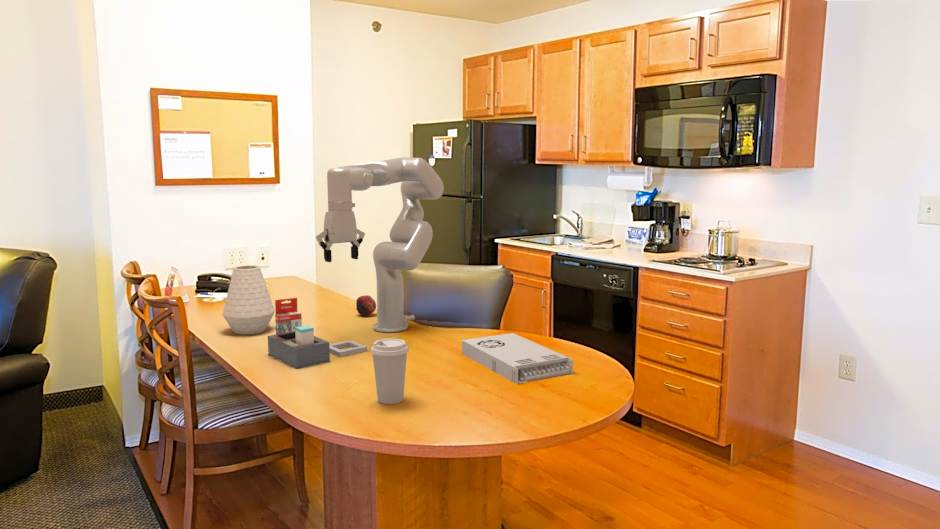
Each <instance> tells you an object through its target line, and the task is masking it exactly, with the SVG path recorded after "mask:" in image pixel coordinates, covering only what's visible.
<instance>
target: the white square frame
mask: <svg viewBox="0 0 940 529" xmlns="http://www.w3.org/2000/svg"><path fill="white" fill-rule="evenodd" d="M329 347H330V355H335V356H337V357H338V358H342V357H347V356H351V355H354V354H356V355H357V354H361V353H364V352H368V346H367V345H364V344H363V343H362V344H361V343H360V342H356V341H354V340H352V339H351V340H350V339H349V340H346V341H339V342H335V343H329ZM349 347H350V348H349ZM344 348H346V349H344Z"/></svg>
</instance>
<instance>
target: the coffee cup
mask: <svg viewBox="0 0 940 529" xmlns="http://www.w3.org/2000/svg"><path fill="white" fill-rule="evenodd" d="M372 344H373V345H372V346H371V348H370V353H371V354H372V360H373V369H374V377H375V387H376V396H377V398H376V399H377V402H378V403H380V404H383V405H395V404H396V405H397V404H400V403H402V402H403V401H404V394H405V383H406V382H405V381H406V368H407V355H408V353H409V350H410V349H409V347H408V345H407V342H406V341H405V340H404V339H401V338H381V339H378V340H376V341H374V342H373V343H372Z"/></svg>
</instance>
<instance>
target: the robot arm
mask: <svg viewBox="0 0 940 529" xmlns="http://www.w3.org/2000/svg"><path fill="white" fill-rule="evenodd" d="M326 180H327V182H326V183H327V211H325V212H324V214H325V215H324V220H323V231H322V232H320V233H319V234H317V235H316V236H315V240H316V241H317V243H318V245H319V246H320V247H321V249H323V259H324V261H325V262H326V263H332V261H333V260H332V249H331V248H332V246H333V245H334V244H342V243H343V244H344V243H350V244H351V245H352V246H351V247H350V258H351V259H353V260H359V247H360V245H361V244H362V243H363V242H364V237H365V235H366V233H365V232H364V231H362V230H360V229H358V228H357V220H356V215H355V212H354V210H353V208H355V207H356V204H355V203H354V202H353V199H352V198H353V194H352V193H353V191H355V192H356V191H357V192H359V191H362V192H363V191H367V190H369V188H371V187H383V186H389V185H393V184H397V183H400V192H401V193H400V194H401V200H402V208H401V211H400V213H399V214H398V216H397V218H396V220H395V221H394V223H393V225H392V227H391V228H390V231H389V238H390V241H382V242H379V243H377V244H376V246H375V247H374V248H373V252H372V258H373V263H374V267H375V274H376V278H375V279H376V310H377V311H376V317H377V322H376V323H375V324H373V326H372V328H373V330H374V331H376V332H378V333H379V332H381V333H399V332H404V331H406V330H408V329H409V324H408V322H409V321H411V322H412V321H415V319H416V316H415V314H410V315H407V314H405V313H404V312H405V310H404V307H405V306H404V304H405V303H404V302H405V301H404V279H403V278H404V277H403V275H402V272H401V271H400V270H402V271H413V270H415V269H416V268H418V266H420V264H421V262H422V260H423V258H424V257H425V254H426V253H427V251H428V249H429V248H430V245H431V243H432V239H433V232H434V230H433V227H432V225H431V224H430V223H429V222H428V221H425V220H423V219H424V217H425V216H424V215H425V212H424V209H423V207H422V205H421V201H420V200H429V201H431V200H433V201H434V200H438V199H440V198H441V197H442V196H443V194H444V182H443V180H442V179H441V177H440V176H439V175H438V173H437V171H435V169H434V168H433V166H431V165H430V163H429V162H428V161H427V160H425V159H424V158H422V157H398V158H397V157H396V158H395V157H394V158H392V159H385V160H379V161H378V160H377V161H371V162H366V163H357V164H351V165H350V164H349V165H343V166H339V167H337V168H336V167H335V168H333V167H332V168H329V169H328V170H327V173H326ZM357 237H358V238H357Z"/></svg>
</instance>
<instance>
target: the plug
mask: <svg viewBox="0 0 940 529" xmlns="http://www.w3.org/2000/svg"><path fill="white" fill-rule="evenodd" d="M314 331H315V330H314V327H313V326H310V325H307V324H306V325H302V326H300V327H295V336H296V344H298V345H300V346H304V345H309V344H314V336H315V335H314Z"/></svg>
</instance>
